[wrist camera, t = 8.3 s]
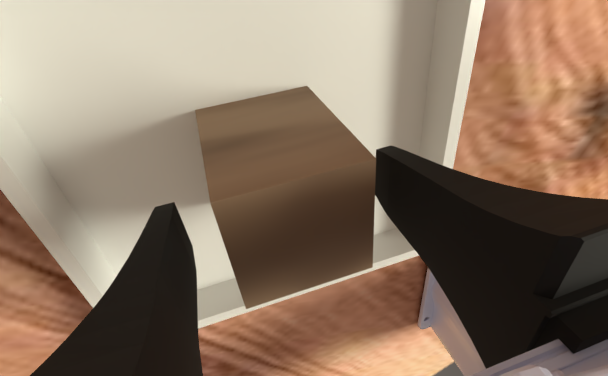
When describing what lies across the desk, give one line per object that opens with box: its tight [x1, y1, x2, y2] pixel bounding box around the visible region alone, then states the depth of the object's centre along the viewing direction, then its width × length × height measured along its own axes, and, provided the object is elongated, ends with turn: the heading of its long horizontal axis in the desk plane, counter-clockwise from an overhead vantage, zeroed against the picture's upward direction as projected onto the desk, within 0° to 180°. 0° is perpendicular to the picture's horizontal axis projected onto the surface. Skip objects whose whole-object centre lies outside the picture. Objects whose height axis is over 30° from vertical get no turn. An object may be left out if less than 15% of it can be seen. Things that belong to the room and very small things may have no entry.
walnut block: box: [195, 86, 376, 309], centre depth 13 cm, size 4×4×6 cm
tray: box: [0, 0, 485, 329], centre depth 15 cm, size 16×17×2 cm
